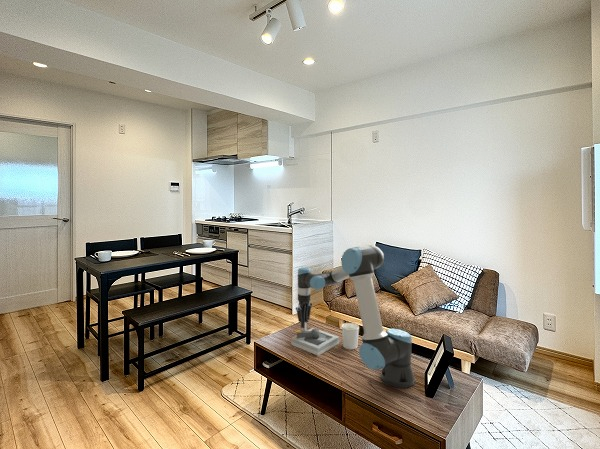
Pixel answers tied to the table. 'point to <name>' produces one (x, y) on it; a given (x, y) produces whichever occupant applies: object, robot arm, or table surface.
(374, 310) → the robot arm
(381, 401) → the table surface
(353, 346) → the candle holder
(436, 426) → the table surface
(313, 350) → the dial panel
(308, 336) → the dial
